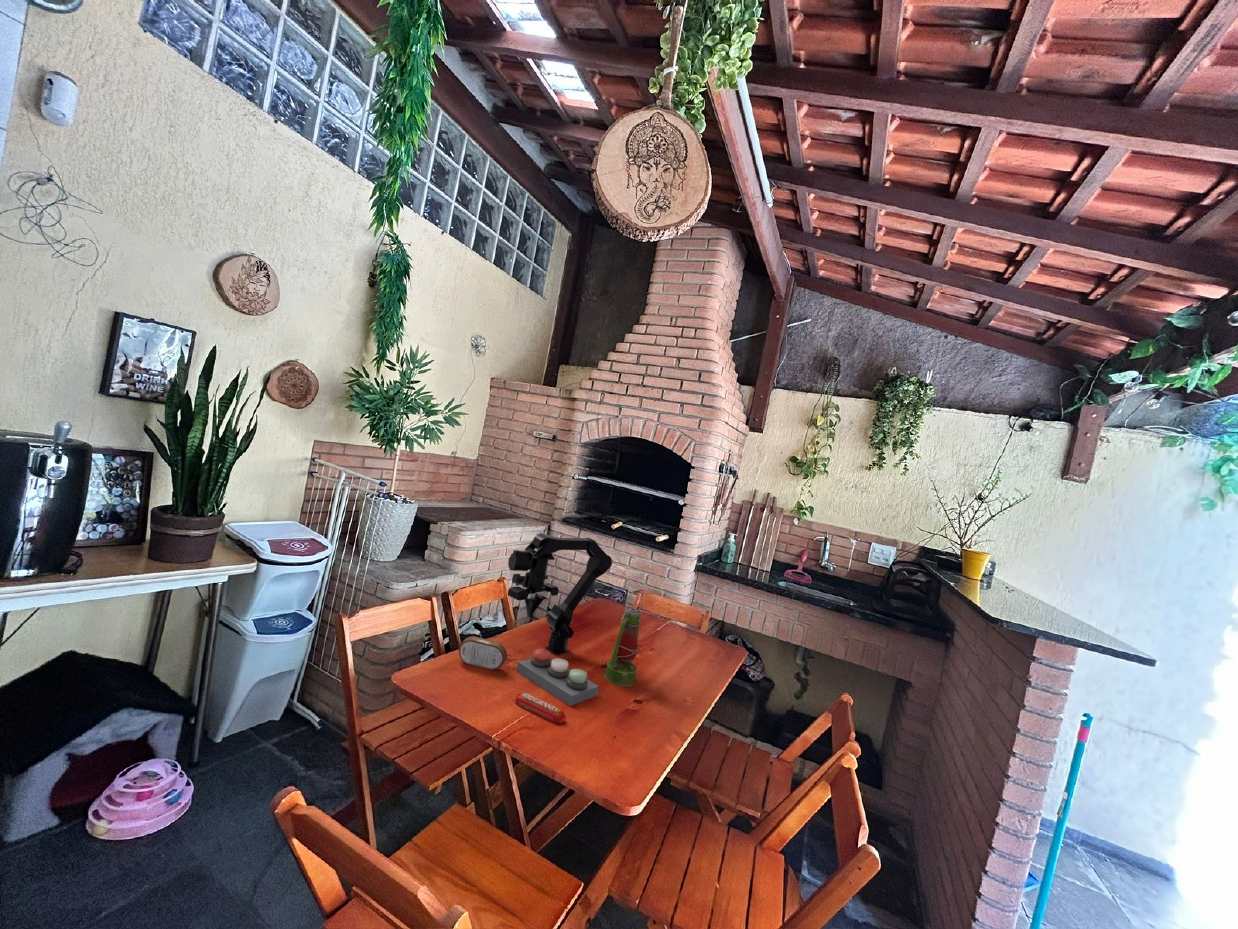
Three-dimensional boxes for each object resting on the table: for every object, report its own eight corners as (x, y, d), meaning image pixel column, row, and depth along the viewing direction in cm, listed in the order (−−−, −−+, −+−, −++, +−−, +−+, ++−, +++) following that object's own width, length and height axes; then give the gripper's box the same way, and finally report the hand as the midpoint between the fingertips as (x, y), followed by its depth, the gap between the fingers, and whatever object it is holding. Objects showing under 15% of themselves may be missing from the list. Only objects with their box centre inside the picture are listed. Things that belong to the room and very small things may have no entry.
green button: (577, 674, 160) (578, 667, 160) (589, 681, 157) (590, 674, 157) (565, 677, 156) (566, 671, 156) (577, 685, 153) (578, 678, 153)
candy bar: (511, 704, 145) (513, 693, 145) (519, 699, 149) (521, 689, 149) (559, 727, 138) (561, 716, 138) (566, 722, 142) (569, 711, 141)
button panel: (544, 663, 174) (546, 650, 174) (597, 695, 159) (600, 681, 159) (516, 671, 165) (518, 657, 164) (569, 706, 150) (572, 691, 149)
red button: (542, 653, 170) (543, 647, 170) (552, 659, 167) (554, 653, 167) (530, 656, 166) (531, 650, 166) (541, 663, 163) (542, 656, 163)
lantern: (619, 690, 165) (637, 598, 164) (594, 676, 172) (611, 587, 171) (644, 680, 176) (661, 593, 175) (619, 667, 183) (636, 584, 182)
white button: (559, 663, 165) (560, 657, 165) (570, 670, 162) (571, 664, 162) (547, 666, 161) (548, 660, 161) (558, 673, 158) (560, 667, 158)
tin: (504, 670, 164) (509, 643, 164) (501, 674, 161) (506, 647, 161) (459, 658, 166) (464, 633, 165) (455, 662, 162) (460, 636, 162)
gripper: (542, 563, 191) (534, 604, 191) (501, 565, 176) (492, 610, 177) (563, 572, 184) (554, 615, 184) (523, 575, 169) (513, 622, 170)
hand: (529, 615), depth 179 cm, fingers closed
